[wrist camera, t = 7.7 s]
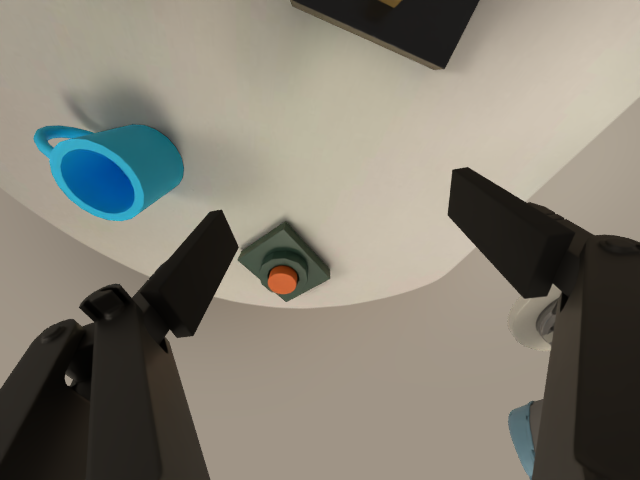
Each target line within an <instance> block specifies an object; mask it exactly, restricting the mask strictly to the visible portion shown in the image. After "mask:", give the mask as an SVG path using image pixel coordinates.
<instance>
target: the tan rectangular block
mask: <svg viewBox="0 0 640 480" xmlns="http://www.w3.org/2000/svg"><path fill="white" fill-rule="evenodd" d="M379 1H381V2H383V3H385V4H387V5H389V6H391V7H393V8H395V7H396V6H397V5H398V4H399V3H400V2H401V1H402V0H379Z"/></svg>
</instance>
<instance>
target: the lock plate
mask: <svg viewBox="0 0 640 480" xmlns="http://www.w3.org/2000/svg"><path fill="white" fill-rule="evenodd" d="M290 2H291V4H292V6H293V7H295V8H297V9H299V10H302V11H304V12H306V13H308V14H311V15H313V16H315V17H317V18H320V19H322V20H324V21H326V22H329V23H331V24H333V25H335V26H337V27H340V28H342V29H344V30H346V31H349V32H351V33H353V34H355V35H358V36H360V37H362V38H364V39H366V40H369V41H371V42H373V43H375V44H378V45H380V46H382V47H384V48H387V49H389V50H391V51H393V52H395V53H398V54H400V55H402V56H404V57H407V58H409V59H411V60H413V61H416V62H418V63H420V64H422V65H425V66H427V67H429V68H431V69H433V70H439V69H445V67H446V65H447V63H448V61H449V59H450V57H451V55H452V53H453V52H454V50H455V48H456V46H457V44H458V42H459V40H460V38H461V36H462V34H463V32H464V30H465V28H466V26H467V24H468V22H469V20H470V18H471V16H472V14H473V12H474V10H475V8H476V6H477V4H478V2H479V0H402V1H401V2H400V3H399V4H398V5H397V6H396V7H395V8H393V7H391V6H389V5H387V4H385V3H383V2H381V1H379V0H290Z"/></svg>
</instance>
